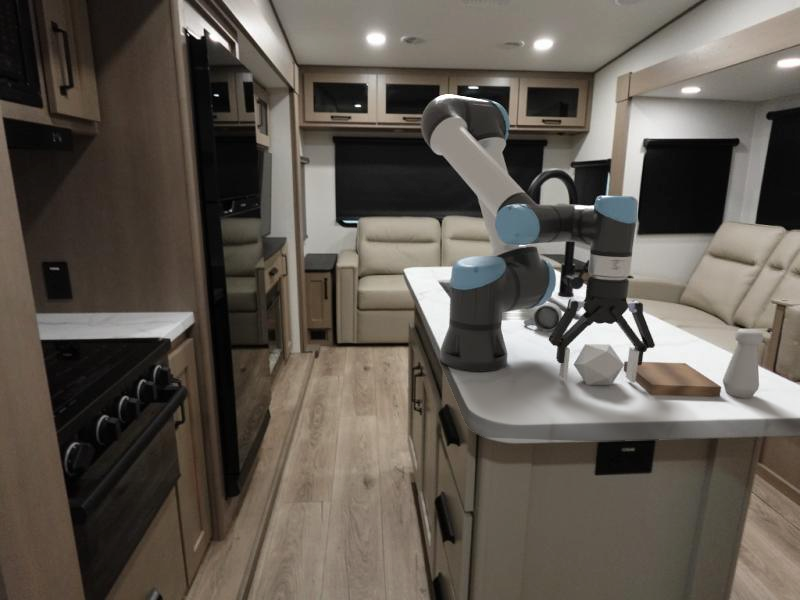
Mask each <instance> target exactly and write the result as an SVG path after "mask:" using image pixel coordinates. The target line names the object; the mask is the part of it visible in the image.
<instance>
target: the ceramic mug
mask: <svg viewBox="0 0 800 600" xmlns="http://www.w3.org/2000/svg"><path fill="white" fill-rule="evenodd" d="M562 316H563V313H562V309H561V308H560V307H559V305H558V304H556V303H554V302H546V303H544V304H542V305H540V306H537V308H536V309H535V310H534V312H533V315H532V316H531V317H529V318H526V319H524V321H523V324H524V326H525V327H528V326H533V325H534V326H536V328H537V329H538V330H540V331H543V330H544V331H543V332H553V330H554V329H555V327H556V326H557V324H558V322H559V321H560V319H561V318H562Z"/></svg>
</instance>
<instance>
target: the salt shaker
mask: <svg viewBox="0 0 800 600" xmlns="http://www.w3.org/2000/svg"><path fill="white" fill-rule="evenodd" d="M734 337H735V338H734V339H735V341H737V345H736V346H735V349H734V351H733V354H732V356H731V358H730V361H729V362H728V366H727V368H726V371H725V373H724V375H723V378H722V383H723V387H724V390H725V393H727V394H728V395H730V396H731V397H734V398H735V397H736V398H739V399H751V398H753V396H754V395H755V393H756V392H757V391H758V390H759V388H760V381H759V380H760V377H759V346H758V345H762V343H763V340H764V334H763V332H761V331H759V330H756V329H754V328H753V329H752V328H739V329H738V330H737V331H736V332H735V335H734Z"/></svg>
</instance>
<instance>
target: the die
mask: <svg viewBox="0 0 800 600" xmlns="http://www.w3.org/2000/svg"><path fill="white" fill-rule="evenodd" d="M573 366H574V367H575V369H576V371H577V372H578V374H579V375H580V376H581V379H583V381H584V383H585V385H587V386H612V385H613V384H614V382H615V380H616V379H617V377H618V376H619V374H620V372H621V371H622V369H624V361H623V360H622V359H620V357H619V355H618V354H617V353H616V351H615V350H614V349H613V347H612V346H611V344H601V343H600V344H594V343H593V344H589V343H587V344H584V345H583V348H582V349H581V350H580V353H579V355H578V356H577V358H576V359H575V361H574V363H573Z"/></svg>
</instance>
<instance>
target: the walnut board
mask: <svg viewBox="0 0 800 600" xmlns="http://www.w3.org/2000/svg"><path fill="white" fill-rule="evenodd" d="M623 364H624V366H623V371H624V372H625V373H626V372H627V364H628V360H627V361H623ZM635 383H637V384H639V386H641V387H642V388H643V389H644V390H645V391H646V392H648V394H650V395H655V396H656V395H657V396H659V395H660V396H685V397H686V396H687V397H688V396H690V397H691V396H692V397H717V398H718V397H721V392H722V385H721V386H720V384H718V383H716V382H715V381H713V380H711V379H710V378H709V377H707V376H706V375H704V374H702V373H701V372H700V371H698V370H696V369H694V368H693V367H692V366H690V365H689V364H687V363H686V362H660V361H658V362H655V361H654V362H653V361H642V364H641V365H637V372H636V380H635Z"/></svg>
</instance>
